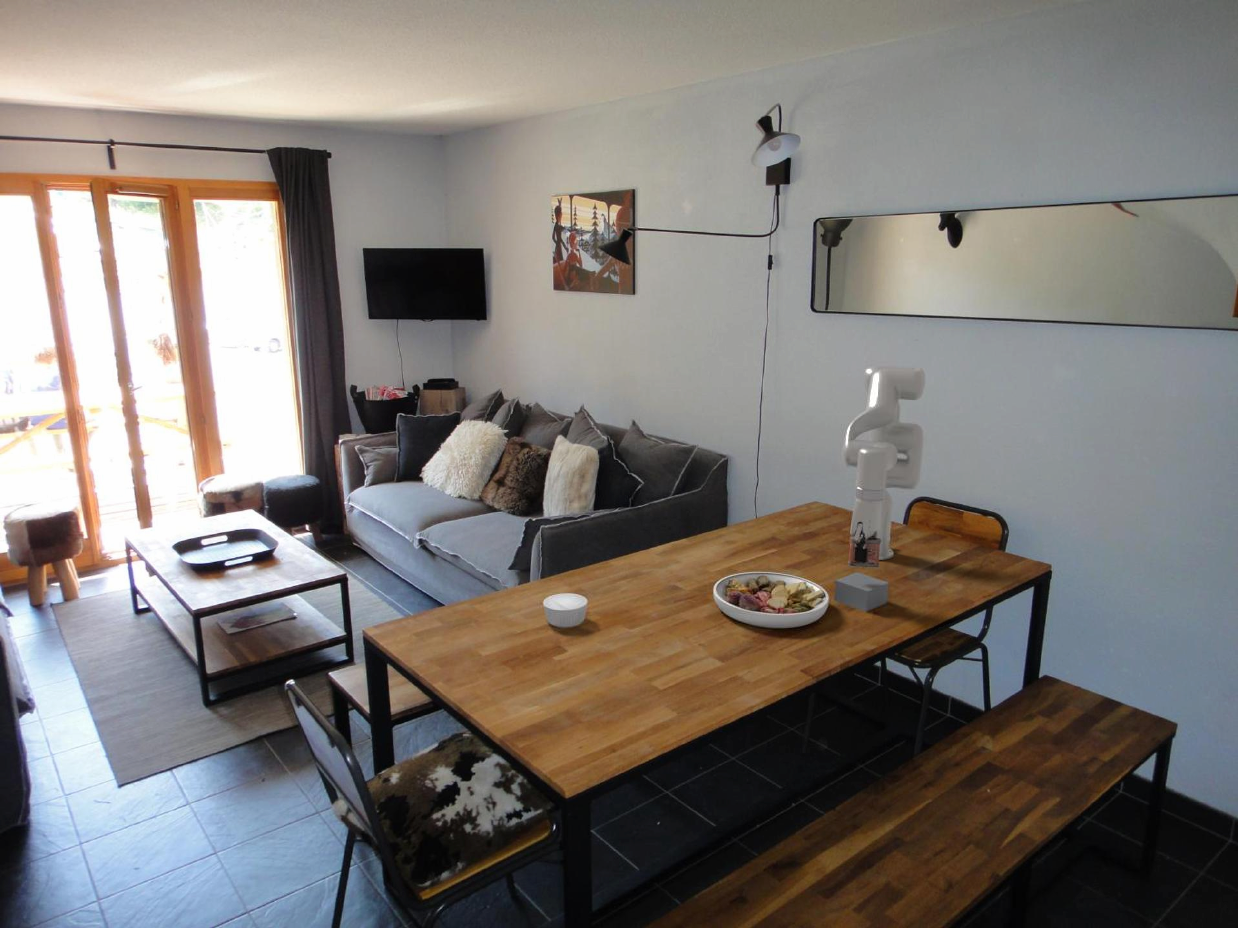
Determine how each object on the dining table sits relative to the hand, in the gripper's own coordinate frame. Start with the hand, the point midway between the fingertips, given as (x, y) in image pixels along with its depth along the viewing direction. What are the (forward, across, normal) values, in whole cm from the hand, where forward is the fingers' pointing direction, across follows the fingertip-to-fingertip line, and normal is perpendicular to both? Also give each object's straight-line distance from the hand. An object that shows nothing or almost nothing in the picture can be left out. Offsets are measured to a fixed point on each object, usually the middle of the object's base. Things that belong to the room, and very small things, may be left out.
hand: (864, 558), depth 226 cm
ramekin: (+13, +60, -54) cm, 82 cm away
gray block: (+13, 0, 0) cm, 13 cm away
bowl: (+13, +20, -17) cm, 29 cm away
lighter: (+2, 0, 0) cm, 2 cm away
